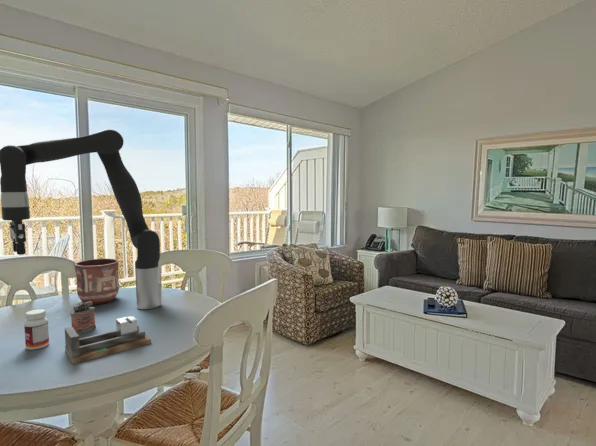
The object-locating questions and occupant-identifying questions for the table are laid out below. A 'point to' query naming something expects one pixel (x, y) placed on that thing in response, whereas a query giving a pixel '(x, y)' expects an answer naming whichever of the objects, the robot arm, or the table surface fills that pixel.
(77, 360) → the gauge track
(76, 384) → the table surface
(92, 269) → the pottery
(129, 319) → the gauge slider
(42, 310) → the pill bottle
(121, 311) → the table surface
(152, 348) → the table surface
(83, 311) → the lighter
